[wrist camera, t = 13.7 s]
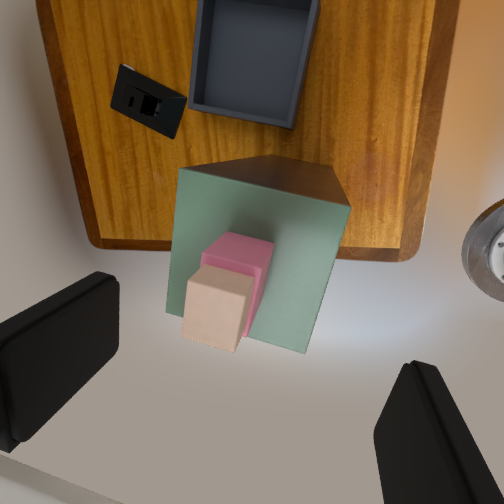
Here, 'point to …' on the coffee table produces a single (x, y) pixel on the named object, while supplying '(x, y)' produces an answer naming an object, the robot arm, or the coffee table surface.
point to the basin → (252, 58)
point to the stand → (264, 235)
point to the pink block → (226, 291)
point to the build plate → (147, 101)
